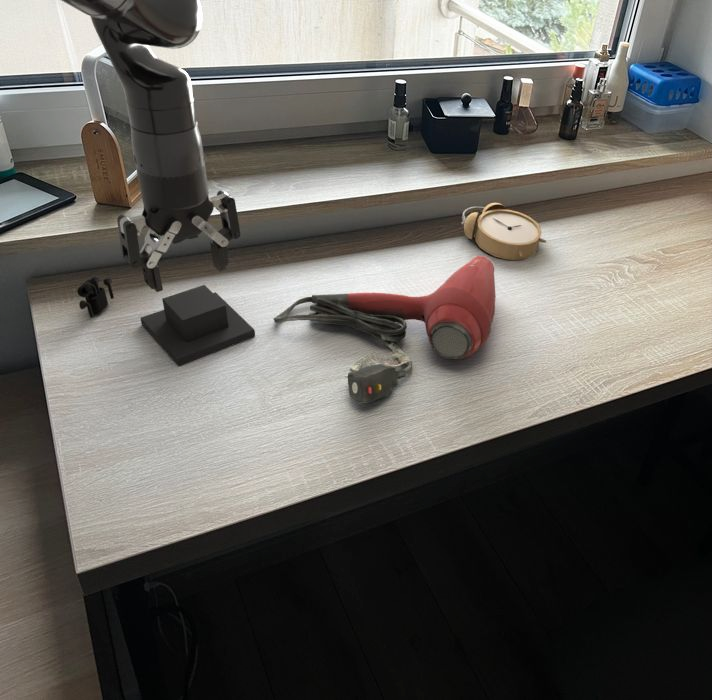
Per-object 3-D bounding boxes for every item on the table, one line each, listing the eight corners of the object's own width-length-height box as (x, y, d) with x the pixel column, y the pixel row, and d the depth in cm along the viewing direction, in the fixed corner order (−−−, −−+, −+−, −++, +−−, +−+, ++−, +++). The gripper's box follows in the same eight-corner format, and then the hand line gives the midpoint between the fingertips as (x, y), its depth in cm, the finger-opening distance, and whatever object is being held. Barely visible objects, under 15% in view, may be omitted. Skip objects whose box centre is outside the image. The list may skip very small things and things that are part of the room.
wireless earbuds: (89, 326, 97) (81, 295, 94) (72, 322, 98) (63, 291, 94) (119, 298, 103) (111, 268, 100) (102, 295, 103) (94, 264, 100)
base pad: (178, 366, 93) (175, 350, 91) (141, 324, 99) (138, 309, 97) (255, 336, 99) (253, 321, 97) (216, 298, 105) (214, 283, 103)
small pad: (186, 342, 95) (182, 320, 93) (166, 320, 98) (161, 298, 96) (228, 326, 98) (225, 305, 96) (207, 305, 101) (204, 284, 99)
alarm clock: (518, 253, 118) (450, 206, 123) (509, 276, 121) (444, 229, 126) (555, 231, 125) (490, 187, 130) (546, 253, 128) (483, 209, 133)
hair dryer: (448, 258, 120) (453, 209, 115) (550, 338, 105) (561, 286, 100) (262, 316, 103) (257, 262, 97) (354, 421, 88) (354, 365, 83)
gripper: (121, 187, 77) (147, 310, 87) (242, 159, 86) (253, 275, 96) (94, 161, 82) (121, 282, 92) (212, 137, 90) (225, 250, 100)
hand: (189, 278), depth 94 cm, fingers open, 8 cm apart
